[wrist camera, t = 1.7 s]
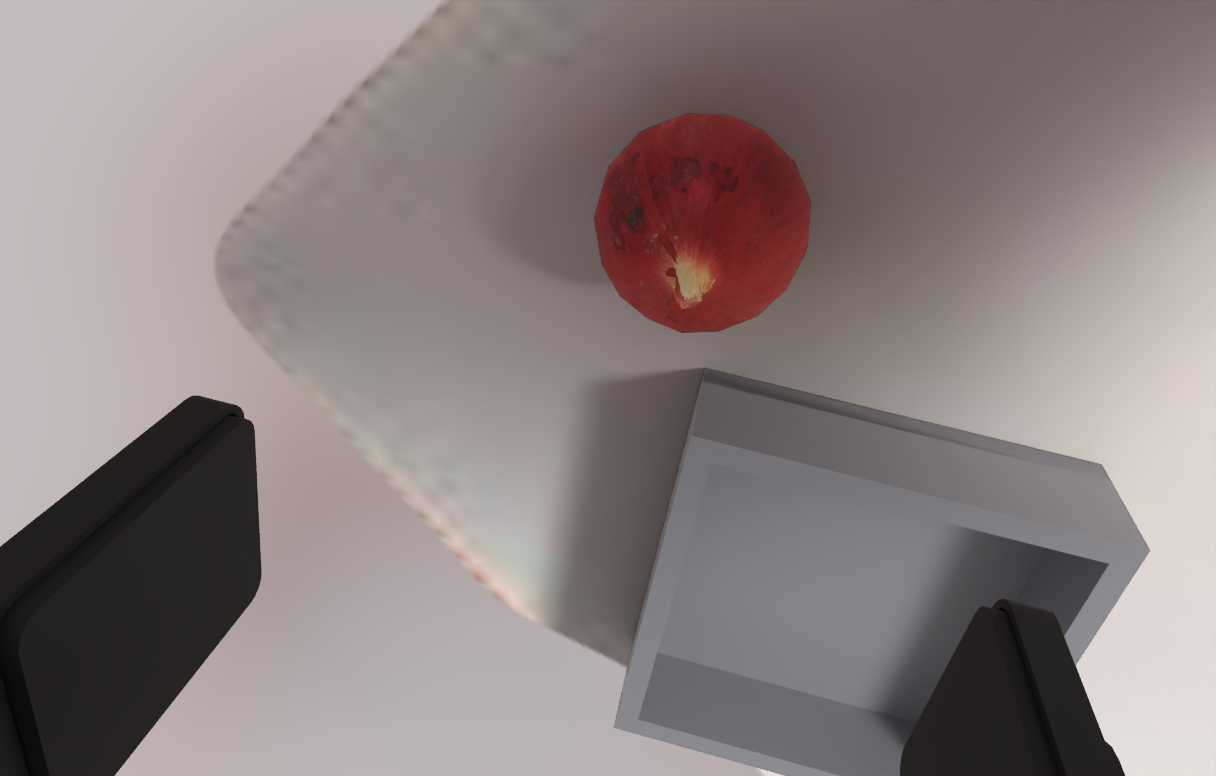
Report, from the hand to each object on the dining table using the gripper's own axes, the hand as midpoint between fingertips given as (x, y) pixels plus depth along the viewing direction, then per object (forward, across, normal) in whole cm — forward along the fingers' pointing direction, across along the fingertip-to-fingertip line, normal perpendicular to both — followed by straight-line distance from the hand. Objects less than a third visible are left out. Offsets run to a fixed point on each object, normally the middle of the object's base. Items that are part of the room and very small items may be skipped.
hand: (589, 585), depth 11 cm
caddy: (+18, -8, +13) cm, 24 cm away
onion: (+18, 0, 0) cm, 19 cm away
